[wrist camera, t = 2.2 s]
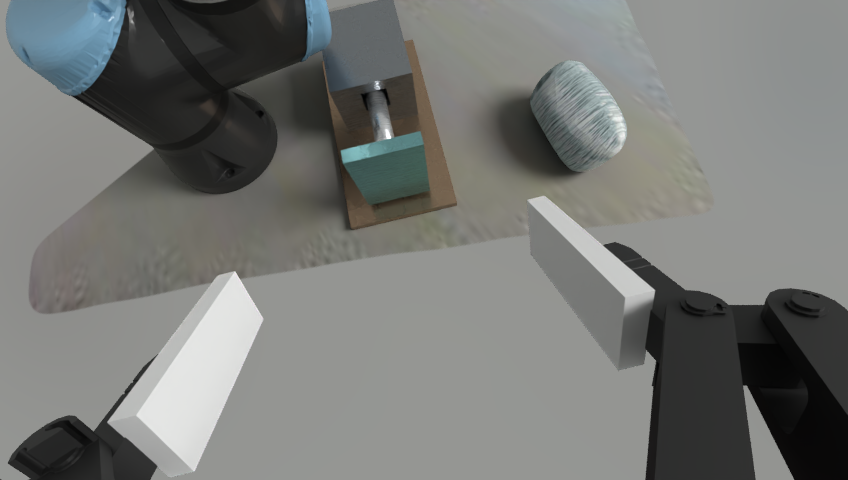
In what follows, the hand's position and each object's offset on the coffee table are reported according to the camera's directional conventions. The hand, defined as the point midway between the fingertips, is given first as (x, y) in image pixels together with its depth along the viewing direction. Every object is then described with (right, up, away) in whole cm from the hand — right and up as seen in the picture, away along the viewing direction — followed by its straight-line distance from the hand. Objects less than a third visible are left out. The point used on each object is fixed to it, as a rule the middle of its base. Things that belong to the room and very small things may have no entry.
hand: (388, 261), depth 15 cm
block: (-3, +13, +31) cm, 33 cm away
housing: (-4, +16, +34) cm, 38 cm away
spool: (+21, +15, +32) cm, 41 cm away
